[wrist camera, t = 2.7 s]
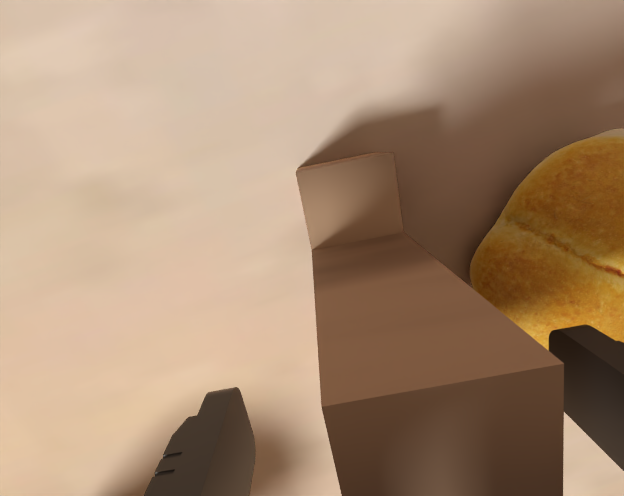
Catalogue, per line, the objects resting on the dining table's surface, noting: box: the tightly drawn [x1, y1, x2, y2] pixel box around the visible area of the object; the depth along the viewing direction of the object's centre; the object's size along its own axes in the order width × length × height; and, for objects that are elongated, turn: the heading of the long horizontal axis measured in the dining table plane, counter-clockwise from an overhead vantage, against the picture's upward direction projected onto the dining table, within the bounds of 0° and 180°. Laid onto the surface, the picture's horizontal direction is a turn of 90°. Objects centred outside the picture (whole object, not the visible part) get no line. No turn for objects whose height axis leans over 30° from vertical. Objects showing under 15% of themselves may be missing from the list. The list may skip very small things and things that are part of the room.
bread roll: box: [469, 128, 624, 351], centre depth 13 cm, size 8×9×4 cm
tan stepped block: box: [296, 152, 564, 496], centre depth 10 cm, size 11×3×10 cm, turn 11°
